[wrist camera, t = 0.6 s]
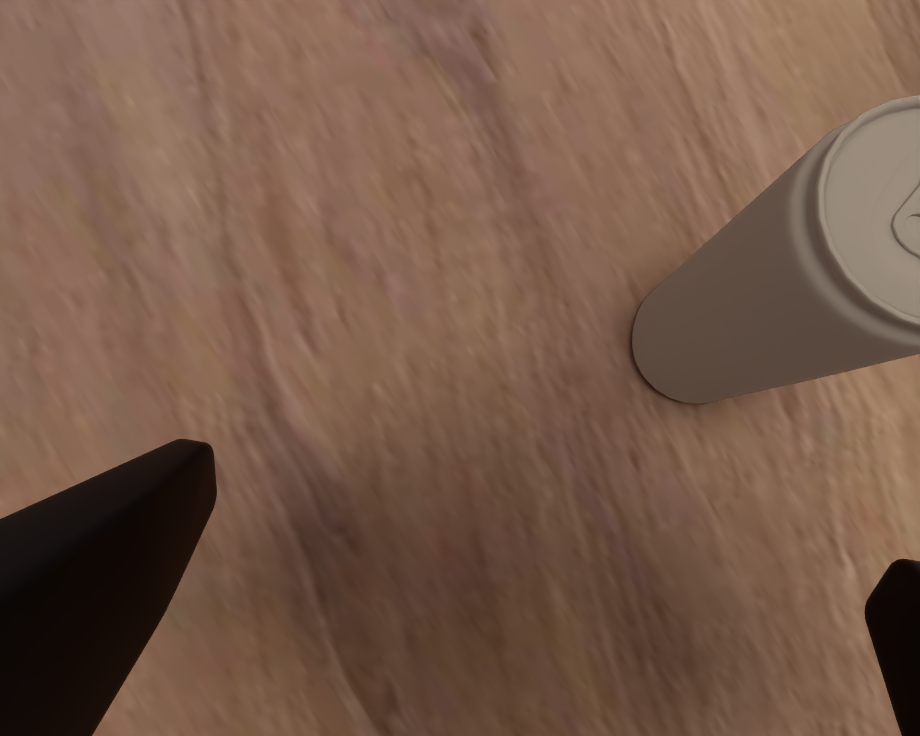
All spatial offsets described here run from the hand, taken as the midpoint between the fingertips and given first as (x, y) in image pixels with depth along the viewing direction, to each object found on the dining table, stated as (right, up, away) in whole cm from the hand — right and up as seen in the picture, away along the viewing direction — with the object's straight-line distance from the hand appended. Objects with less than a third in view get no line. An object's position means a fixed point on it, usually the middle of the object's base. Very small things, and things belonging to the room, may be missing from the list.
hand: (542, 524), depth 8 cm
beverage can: (+8, +3, +15) cm, 17 cm away
